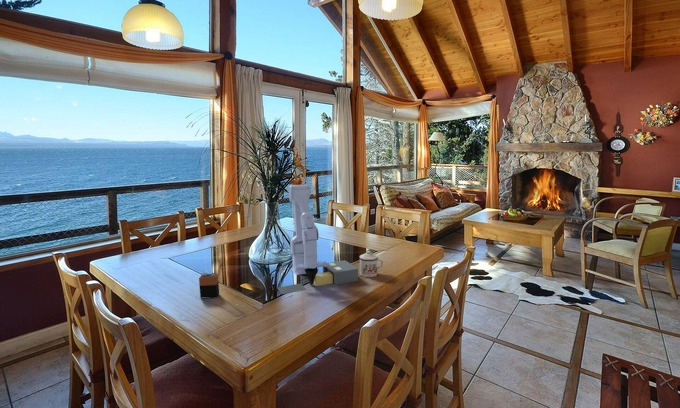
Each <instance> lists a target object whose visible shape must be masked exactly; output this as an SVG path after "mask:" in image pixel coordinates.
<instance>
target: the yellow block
mask: <svg viewBox="0 0 680 408" xmlns="http://www.w3.org/2000/svg"><path fill="white" fill-rule="evenodd" d="M331 284H334V280H333V274H332V273H330V272H325V273H323V272H320V273H318V272H317V274H316V276H315V279H314V284H313V285H315V286H316V287H319V286H325V285H331Z"/></svg>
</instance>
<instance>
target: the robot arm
mask: <svg viewBox="0 0 680 408" xmlns="http://www.w3.org/2000/svg"><path fill="white" fill-rule="evenodd" d="M311 194H312V189H311V185H310V184H308V183H307V184H296V185H295V184H290V185H289V186H288V199H289V202H291V203H292V205H293V213H294V230H295V235H294V236H292V238H291V239H290V241H289V242H290V244H289V249H290V250H289V251H290V254H291V255H292V258H291V259H292V268H291V269H290V271H291V272H292V273H293V274H295V276H299V275H306V276H307V279H308V283H309V285H315V284H314V279H315V276H316V274H318V272H319V268H323V267H327V263H328V262H327V261H318V240H319V230H318V227H317V225H316V224H315V220H314V216H313V214H312V213H311V212H310V206H309V200H310V197H311Z"/></svg>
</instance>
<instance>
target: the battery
mask: <svg viewBox="0 0 680 408" xmlns="http://www.w3.org/2000/svg"><path fill="white" fill-rule="evenodd" d="M219 281H220V280H219V274H218V273H215V272H212V273H207V272H202V273H201V275H200V276H199V278H198V284H199V297H216V298H218V296H219V295H218V294H220V284H219Z"/></svg>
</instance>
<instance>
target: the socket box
mask: <svg viewBox="0 0 680 408" xmlns="http://www.w3.org/2000/svg"><path fill="white" fill-rule="evenodd" d="M325 272H330V273H332V274H333V285H343V284H347V283H354V282H358V281H359V268H358V267H356V266H355V265H353V264H352V263H350V262H349V261H347V260H345V259H344V260H337V261H331V262H327V267H322V273H325Z"/></svg>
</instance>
